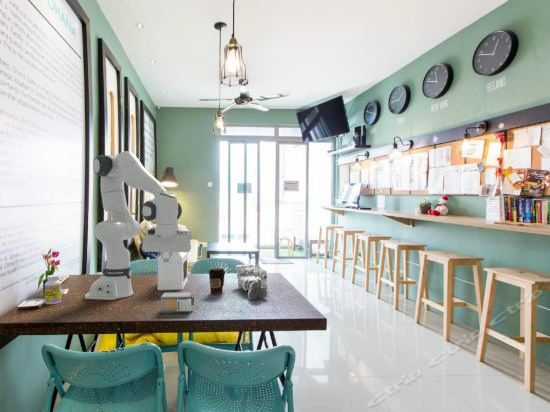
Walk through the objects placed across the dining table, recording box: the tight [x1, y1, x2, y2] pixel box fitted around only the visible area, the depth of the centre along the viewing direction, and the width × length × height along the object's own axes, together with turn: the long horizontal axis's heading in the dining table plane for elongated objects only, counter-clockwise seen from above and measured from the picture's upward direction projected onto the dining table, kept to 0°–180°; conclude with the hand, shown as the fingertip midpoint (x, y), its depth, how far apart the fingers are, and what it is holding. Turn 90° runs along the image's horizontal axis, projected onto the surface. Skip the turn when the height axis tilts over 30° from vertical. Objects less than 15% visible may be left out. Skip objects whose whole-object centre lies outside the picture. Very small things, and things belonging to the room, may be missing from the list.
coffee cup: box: [208, 267, 226, 295], centre depth 190 cm, size 9×8×13 cm
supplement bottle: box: [44, 274, 62, 305], centre depth 170 cm, size 7×7×13 cm
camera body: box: [159, 291, 195, 314], centre depth 160 cm, size 14×8×7 cm, turn 95°
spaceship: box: [235, 263, 269, 301], centre depth 193 cm, size 16×35×12 cm, turn 16°
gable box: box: [157, 252, 189, 291], centre depth 207 cm, size 22×13×28 cm, turn 6°
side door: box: [177, 299, 192, 312], centre depth 156 cm, size 6×2×5 cm, turn 95°
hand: (166, 262), depth 156 cm, fingers closed
